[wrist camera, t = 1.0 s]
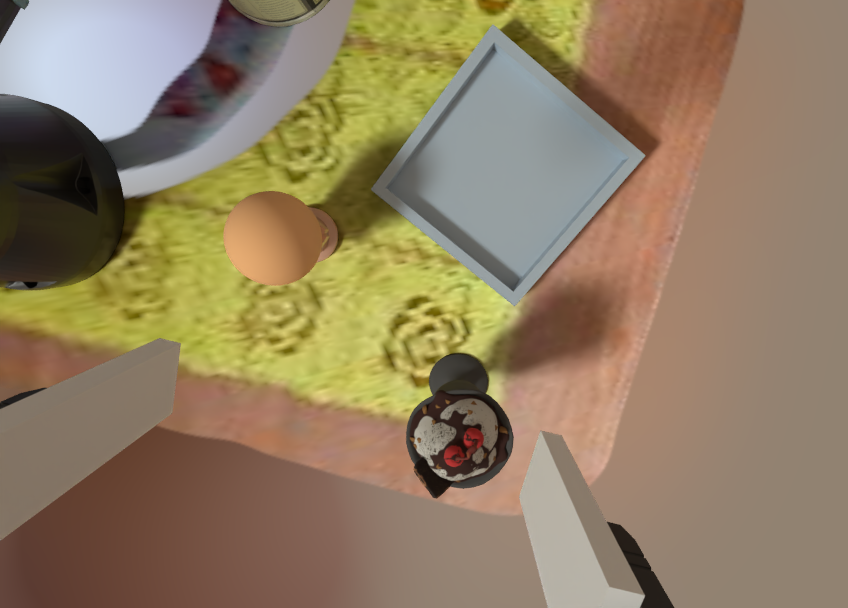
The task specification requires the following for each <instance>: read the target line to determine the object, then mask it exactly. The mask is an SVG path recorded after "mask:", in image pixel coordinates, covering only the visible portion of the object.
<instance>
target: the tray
mask: <svg viewBox="0 0 848 608" xmlns="http://www.w3.org/2000/svg"><path fill="white" fill-rule="evenodd" d="M645 156H646V155H644V154H643V153H642V152H641V151H640V150H639V149H637V148H636V147H635V146H634V145H633V144H632V143H630V142H629V141H628V140H627V139H626V138H625V137H623V136H622V135H621V134H620V133H619V132H618V131H616V130H615V129H614V128H613V127H612V126H611V125H609V124H608V123H607V122H606V121H605V120H604V119H603V118H601V117H600V116H599V115H598V114H597V113H596V112H594V111H593V110H592V109H591V108H590V107H589V106H587V105H586V104H585V103H584V102H583V101H582V100H580V99H579V98H578V97H577V96H576V95H575V94H573V93H572V92H571V91H570V90H569V89H568V88H566V87H565V86H564V85H563V84H562V83H561V82H559V81H558V80H557V79H556V78H555V77H554V76H552V75H551V74H550V73H549V72H548V71H547V70H545V69H544V68H543V67H542V66H541V65H540V64H539V63H537V62H536V61H535V60H534V59H533V58H532V57H530V56H529V55H528V54H527V53H526V52H525V51H523V50H522V49H521V48H520V47H519V46H518V45H516V44H515V43H514V42H513V41H512V40H511V39H509V38H508V37H507V36H506V35H505V34H504V33H502V32H501V31H500V30H499V29H498V28H497V27H495V26H494V25H492V26H491V27H490V29H489V30H488V31H487V33H486V34H485V36H484V37H483V38H482V40H481V41H480V42H479V44H478V45H477V46H476V48H475V49H474V50H473V52H472V53H471V54H470V56H469V57H468V59H467V60H466V61H465V63H464V64H463V65H462V67H461V68H460V69H459V71H458V72H457V73H456V75H455V76H454V77H453V79H452V80H451V82H450V83H449V84H448V86H447V87H446V88H445V90H444V91H443V92H442V94H441V95H440V96H439V98H438V99H437V100H436V102H435V103H434V105H433V106H432V107H431V109H430V110H429V111H428V113H427V114H426V115H425V117H424V118H423V119H422V121H421V122H420V123H419V125H418V126H417V128H416V129H415V130H414V132H413V133H412V134H411V136H410V137H409V138H408V140H407V141H406V142H405V144H404V145H403V146H402V148H401V149H400V151H399V152H398V153H397V155H396V156H395V157H394V159H393V160H392V161H391V163H390V164H389V165H388V167H387V168H386V169H385V171H384V172H383V174H382V175H381V176H380V178H379V179H378V180H377V182H376V183H375V184H374V186H373V187H372V188H371V190H372V191H373V192H374V193H375V194H377V195H378V196H379V197H380V198H382V199H383V200H384V201H385V202H387V203H388V204H389V205H390V206H391V207H393V208H394V209H395V210H396V211H398V212H399V213H400V214H401V215H403V216H404V217H405V218H406V219H408V220H409V221H410V222H411V223H412V224H414V225H415V226H416V227H417V228H419V229H420V230H421V231H422V232H424V233H425V234H426V235H427V236H428V237H430V238H431V239H432V240H433V241H435V242H436V243H437V244H438V245H440V246H441V247H442V248H443V249H445V250H446V251H447V252H448V253H449V254H451V255H452V256H453V257H454V258H456V259H457V260H458V261H459V262H461V263H462V264H463V265H464V266H466V267H467V268H468V269H469V270H470V271H472V272H473V273H474V274H475V275H477V276H478V277H479V278H480V279H482V280H483V281H484V282H485V283H486V284H488V285H489V286H490V287H491V288H493V289H494V290H495V291H496V292H498V293H499V294H500V295H501V296H503V297H504V298H505V299H506V300H507V301H509V302H510V303H511V304H512V305H514V306H515V305H516V304H517V303H518V302H519V301H520V300H521V298H522V297H523V296H524V295H525V294H526V293H527V292H528V290H529V289H530V288H531V287H532V286H533V285H534V284H535V282H536V281H537V280H538V279H539V278H540V277H541V275H542V274H543V273H544V272H545V271H546V270H547V269H548V267H549V266H550V265H551V264H552V263H553V262H554V261H555V259H556V258H557V257H558V256H559V255H560V254H561V252H562V251H563V250H564V249H565V248H566V247H567V246H568V244H569V243H570V242H571V241H572V240H573V239H574V238H575V236H576V235H577V234H578V233H579V232H580V231H581V230H582V228H583V227H584V226H585V225H586V224H587V223H588V221H589V220H590V219H591V218H592V217H593V216H594V215H595V213H596V212H597V211H598V210H599V209H600V208H601V207H602V205H603V204H604V203H605V202H606V201H607V200H608V198H609V197H610V196H611V195H612V194H613V193H614V192H615V190H616V189H617V188H618V187H619V186H620V185H621V184H622V182H623V181H624V180H625V179H626V178H627V177H628V175H629V174H630V173H631V172H632V171H633V170H634V169H635V167H636V166H637V165H638V164H639V163H640V162H641V161H642V159H643V158H644V157H645Z"/></svg>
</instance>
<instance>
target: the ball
mask: <svg viewBox="0 0 848 608" xmlns="http://www.w3.org/2000/svg"><path fill="white" fill-rule="evenodd" d="M224 245H225V249H226V252H227V254H228V257H229V258H230V260H231V262H232V263H233V265H234V266H235V267H236V268H237V269H238V270H239V271H240V272H241V273H242V274H243V275H245V276H246V277H248V278H249V279H251V280H253V281H255V282H258V283H261V284H266V285H284V284H289V283H292V282H295V281H297V280H299V279H301V278H302V277H304V276H305V275H306V274H307V273H309V272H310V270H311V269H312V268H313V267H314V265H315V264H316V262H317V260H318V258H319V256H320V253H321V248H322V233H321V228H320V225H319V222H318V220H317V218H316V217H315V215H314V213H313V212H312V211H311V210H310V209H309V207H308V206H306V205H305V204H304V203H303V202H302V201H300V200H299V199H297V198H295V197H293V196H291V195H288V194H286V193H282V192H275V191H266V192H259V193H256V194H253V195H250V196H248V197H246V198H245V199H243V200H242V201H240V202H239V203H238V204H237V205H236V206H235V207H234V208H233V210H232V211H231V212H230V214H229V216H228V218H227V221H226V224H225V228H224Z"/></svg>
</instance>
